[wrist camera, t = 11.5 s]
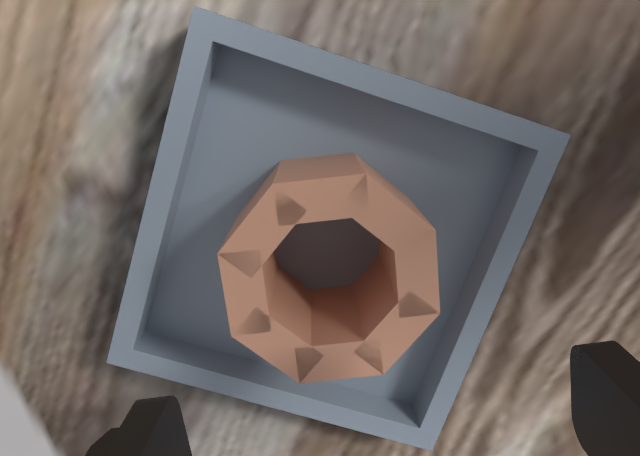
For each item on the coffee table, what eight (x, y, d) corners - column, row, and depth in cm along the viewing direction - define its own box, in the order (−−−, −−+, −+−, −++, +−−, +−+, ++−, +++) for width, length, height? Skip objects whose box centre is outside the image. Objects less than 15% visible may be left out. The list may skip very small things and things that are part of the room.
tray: (543, 129, 20) (571, 134, 17) (421, 417, 23) (431, 451, 21) (206, 13, 18) (194, 5, 16) (125, 336, 21) (106, 362, 19)
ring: (404, 146, 19) (432, 166, 15) (415, 307, 21) (443, 368, 16) (230, 165, 19) (206, 191, 15) (254, 325, 21) (240, 389, 16)
